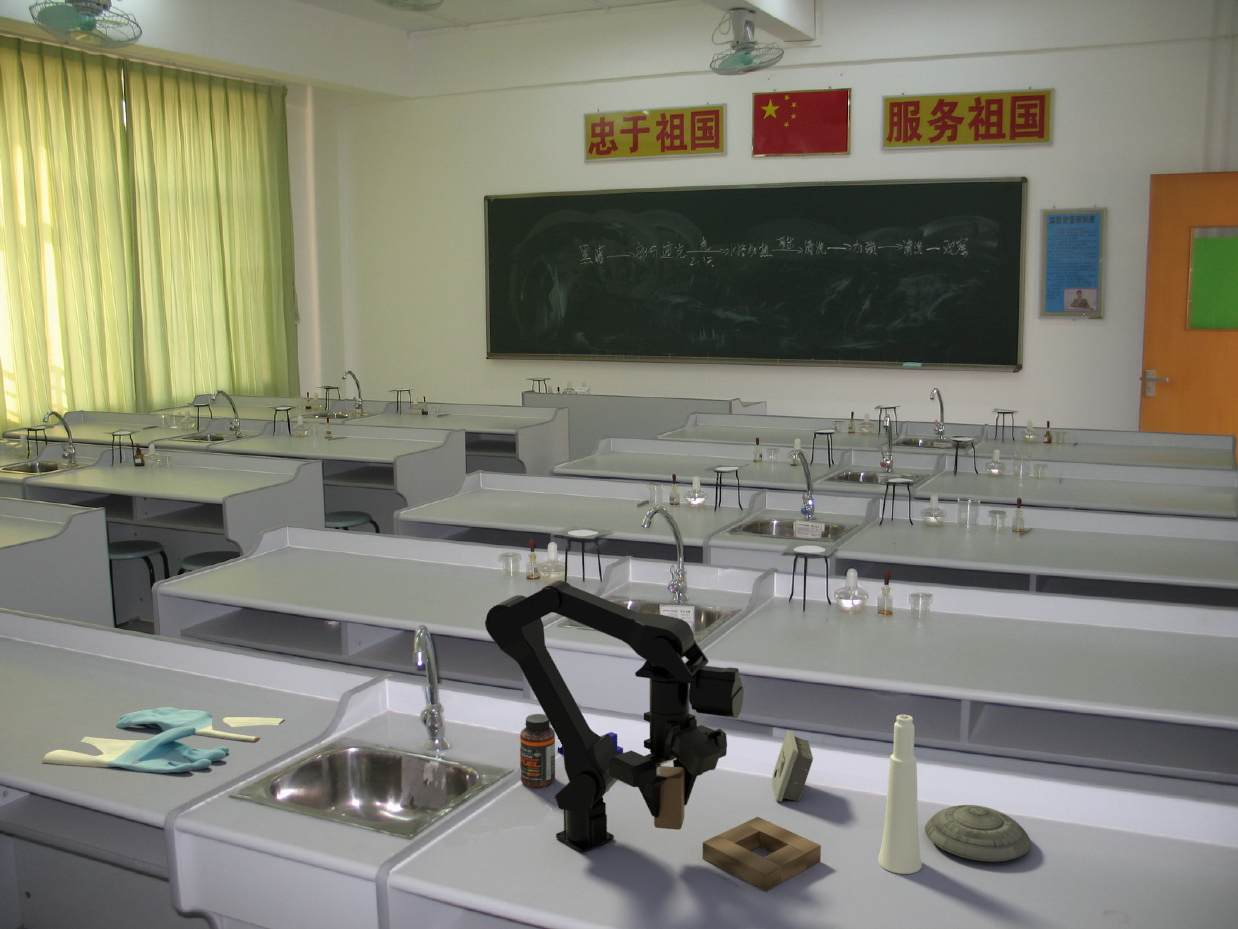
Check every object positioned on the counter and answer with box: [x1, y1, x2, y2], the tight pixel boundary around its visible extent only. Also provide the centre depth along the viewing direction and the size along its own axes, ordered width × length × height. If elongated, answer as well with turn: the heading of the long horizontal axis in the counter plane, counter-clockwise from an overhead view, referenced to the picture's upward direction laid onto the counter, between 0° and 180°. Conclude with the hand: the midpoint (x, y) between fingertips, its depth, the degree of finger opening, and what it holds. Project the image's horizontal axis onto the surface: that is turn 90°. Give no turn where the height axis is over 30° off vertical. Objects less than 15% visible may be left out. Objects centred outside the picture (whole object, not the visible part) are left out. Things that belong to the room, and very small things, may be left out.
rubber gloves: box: [41, 706, 285, 774], centre depth 199 cm, size 27×33×6 cm
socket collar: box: [702, 816, 822, 892], centre depth 154 cm, size 12×12×2 cm
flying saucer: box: [924, 804, 1032, 863], centre depth 159 cm, size 15×15×6 cm
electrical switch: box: [771, 729, 814, 803], centre depth 176 cm, size 9×5×9 cm, turn 176°
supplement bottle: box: [519, 713, 556, 788], centre depth 180 cm, size 6×6×11 cm
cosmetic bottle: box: [878, 714, 923, 875], centre depth 151 cm, size 6×6×22 cm
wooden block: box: [653, 765, 685, 831], centre depth 154 cm, size 4×4×8 cm
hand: (669, 810), depth 155 cm, fingers closed on wooden block, 5 cm apart
